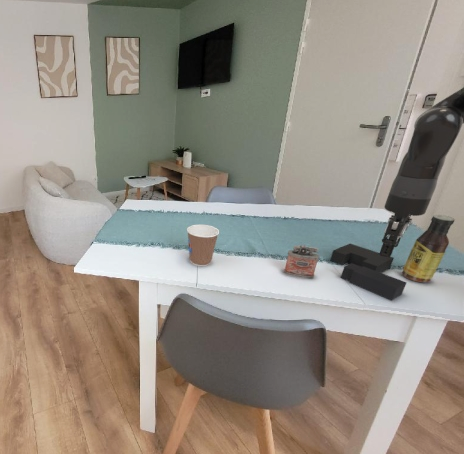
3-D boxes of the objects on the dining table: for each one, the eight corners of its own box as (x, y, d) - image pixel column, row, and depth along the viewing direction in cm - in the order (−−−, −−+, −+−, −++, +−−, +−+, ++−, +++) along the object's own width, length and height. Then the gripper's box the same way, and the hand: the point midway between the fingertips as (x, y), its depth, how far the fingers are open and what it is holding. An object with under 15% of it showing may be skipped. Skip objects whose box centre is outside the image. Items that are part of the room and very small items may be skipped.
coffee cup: (189, 252, 109) (191, 222, 104) (218, 257, 104) (221, 227, 99) (181, 264, 101) (183, 233, 96) (212, 271, 96) (215, 238, 91)
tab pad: (349, 273, 91) (352, 262, 89) (401, 294, 80) (406, 282, 79) (339, 278, 89) (342, 267, 87) (391, 300, 78) (396, 288, 77)
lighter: (283, 274, 92) (290, 246, 88) (283, 269, 95) (289, 242, 91) (314, 279, 89) (322, 251, 85) (312, 274, 91) (320, 246, 88)
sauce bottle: (397, 270, 91) (421, 211, 83) (424, 274, 88) (452, 213, 80) (406, 281, 86) (432, 219, 78) (435, 286, 83) (465, 222, 75)
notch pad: (389, 268, 92) (394, 257, 91) (373, 277, 88) (377, 266, 87) (346, 253, 102) (350, 243, 101) (330, 260, 98) (333, 250, 97)
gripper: (427, 203, 65) (401, 265, 72) (436, 190, 73) (412, 247, 80) (383, 196, 71) (363, 254, 77) (396, 185, 79) (376, 238, 85)
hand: (388, 250), depth 79 cm, fingers open, 8 cm apart
